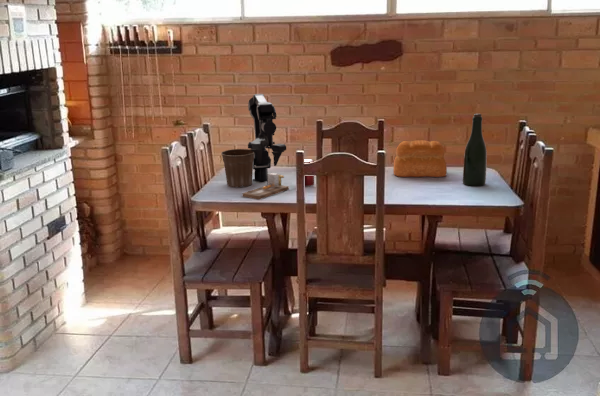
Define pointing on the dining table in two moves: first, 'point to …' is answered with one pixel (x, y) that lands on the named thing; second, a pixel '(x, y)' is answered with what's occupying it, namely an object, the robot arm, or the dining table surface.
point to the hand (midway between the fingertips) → (267, 164)
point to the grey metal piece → (272, 181)
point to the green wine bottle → (475, 156)
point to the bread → (420, 159)
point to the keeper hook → (280, 179)
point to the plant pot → (238, 167)
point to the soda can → (309, 179)
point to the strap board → (264, 192)
